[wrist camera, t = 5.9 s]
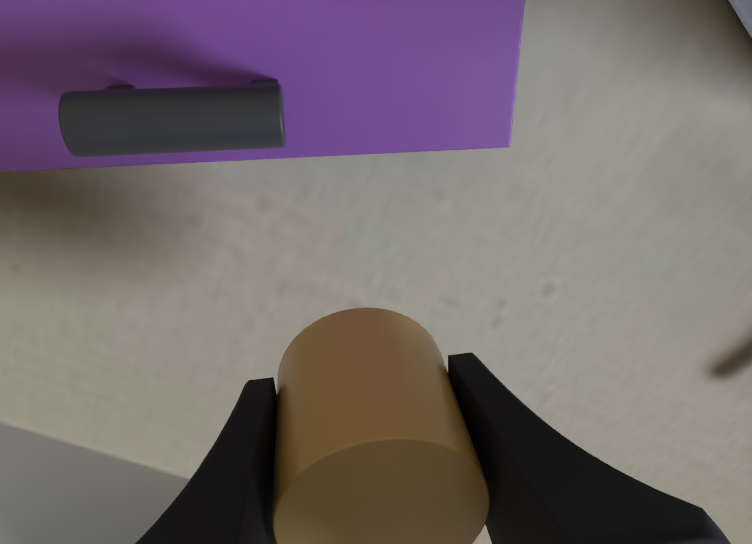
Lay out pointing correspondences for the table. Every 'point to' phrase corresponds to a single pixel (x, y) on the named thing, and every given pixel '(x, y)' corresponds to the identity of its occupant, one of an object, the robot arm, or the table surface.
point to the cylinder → (372, 438)
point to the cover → (251, 79)
